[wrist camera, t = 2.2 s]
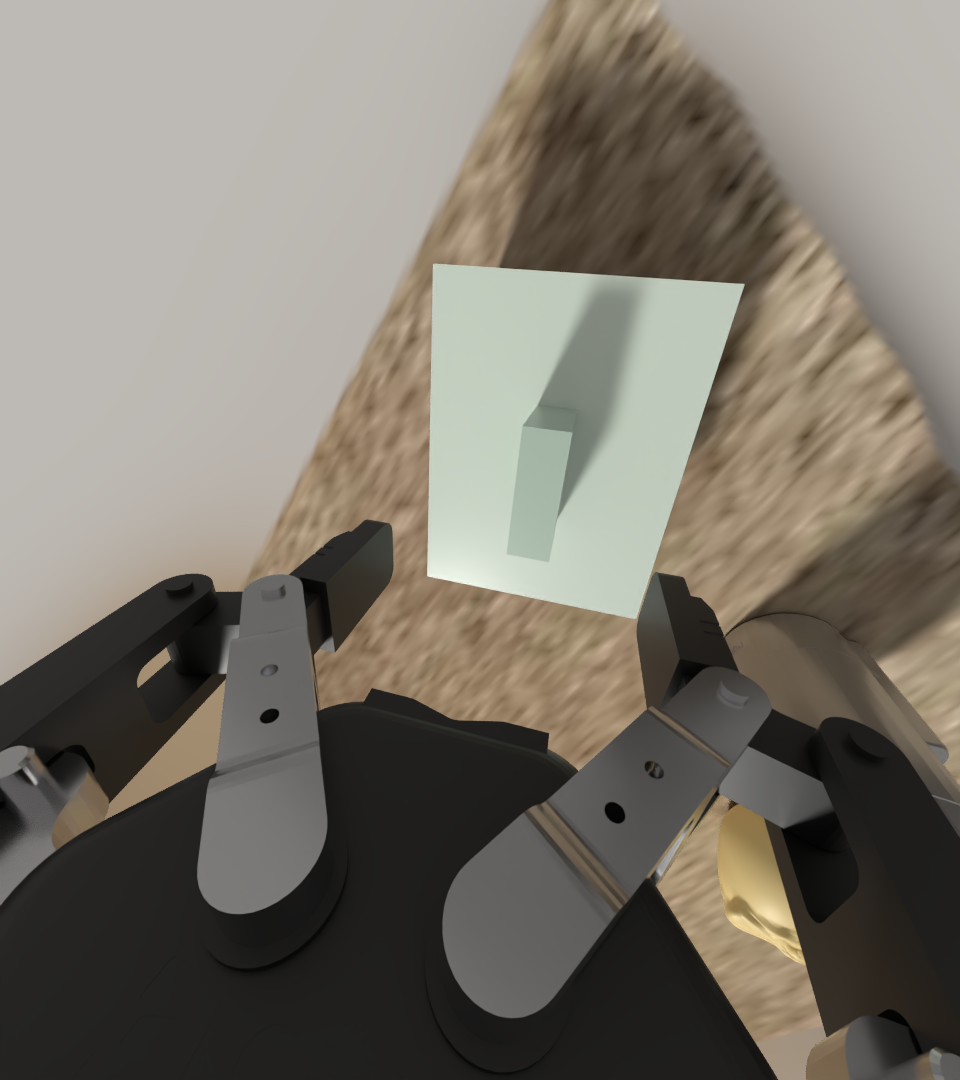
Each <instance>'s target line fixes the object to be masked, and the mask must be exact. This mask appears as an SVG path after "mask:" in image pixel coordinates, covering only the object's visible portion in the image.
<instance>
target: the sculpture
mask: <svg viewBox="0 0 960 1080" xmlns="http://www.w3.org/2000/svg"><path fill="white" fill-rule="evenodd" d="M717 860H718V878H719V881H720V888H721V892H722V895H723V897H724V907H725V914H726V916H727V918H728V919H729V920H730V921H731V922H732V923H733V924H734V925H735V926H736V927H737V928H739V929H741V930H743V931H745V932H747V933H749V934H752V935H755V936H757V937H759V938H761V939H763V940H765V941H768V942H770V943H772V944H773V945H775V946H776V947H778V948H779V949H780V950H781V951H782V952H783V953H784V954H785V955H786V956H787V957H789V958H792V959H793V960H794V961H795V962H799V963H801V964H802V965H805V966H806V963H805V960H804V957H803V953H802V950H801V946H800V943H799V939H798V936H797V932H796V929H795V925H794V922H793V918H792V915H791V911H790V908H789V904H788V901H787V897H786V894H785V890H784V887H783V883H782V880H781V876H780V873H779V869H778V866H777V862H776V859H775V855H774V852H773V848H772V845H771V841H770V838H769V834H768V831H767V827H766V824H765V820H764V818H763V817H761V816H760V815H758V814H756V813H754V812H752V811H750V810H749V809H747V808H745V807H743V806H741V805H739V804H737V805H736V806H734V807H733V808H731V809H730V810H729V811H728V812H727V813H726V815H725V816H724V818H723V821H722V824H721V827H720V832H719V841H718V857H717Z"/></svg>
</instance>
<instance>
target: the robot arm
mask: <svg viewBox="0 0 960 1080" xmlns="http://www.w3.org/2000/svg"><path fill="white" fill-rule="evenodd" d="M392 573H393V538H392V527H391V525H390V524H389V523H384V522H378V521H373V520H365V521H363V522H362V523H361V524H360V525H359V526H358V527H357V528H355V529H354V530H353V531H352V532H349V531H348V532H345V533H343V534H341V535H338V536H336V537H334V538H332V539H331V540H330V541H329V542H328V543H326V544H325V545H324V547H323V548H320V549H319V550H318V551H317V552H316V553H315V554H313V555H312V556H311V557H310V558H308V559H307V560H306V561H305V562H304V563H302V564H301V565H300V566H299V567H298V568H296V569H295V570H294V571H293V572H292V573H290V574H289V575H284V574H280V575H271V576H266V577H263V578H260V579H258V580H256V581H254V582H252V583H250V584H249V585H248V586H247V587H246V588H245V589H244V591H243V592H215V588H214V585H213V581H212V579H211V578H209V577H208V576H206V575H202V574H185V575H179V576H175V577H172V578H169V579H166V580H164V581H161V582H159V583H158V584H156V585H154V586H153V587H151V588H150V589H148V590H147V591H145V592H144V593H142V594H141V595H139V596H138V597H136V598H134V599H133V600H131V601H130V602H128V603H127V604H125V605H124V606H122V607H121V608H119V609H118V610H116V611H115V612H113V613H111V614H110V615H108V616H107V617H105V618H104V619H102V620H101V621H99V622H98V623H96V624H95V625H93V626H91V627H90V628H88V629H87V630H85V631H84V632H82V633H81V634H79V635H78V636H76V637H75V638H73V639H72V640H70V641H68V642H67V643H65V644H64V645H63V646H61V647H59V648H58V649H56V650H55V651H53V652H52V653H50V654H49V655H47V656H45V657H44V658H43V659H41V660H39V661H38V662H36V663H35V664H33V665H32V666H30V667H29V668H27V669H26V670H24V671H23V672H21V673H19V674H18V675H16V676H15V677H13V678H12V679H11V680H9V681H7V682H6V683H4V684H3V685H1V686H0V1080H778V1079H777V1077H776V1075H775V1074H774V1072H773V1070H772V1069H771V1067H770V1066H769V1064H768V1062H767V1061H766V1059H765V1057H764V1056H763V1054H762V1053H761V1051H760V1050H759V1048H758V1047H757V1045H756V1043H755V1042H754V1040H753V1039H752V1037H751V1035H750V1034H749V1032H748V1031H747V1029H746V1027H745V1026H744V1024H743V1023H742V1021H741V1020H740V1018H739V1016H738V1015H737V1013H736V1012H735V1010H734V1009H733V1007H732V1005H731V1004H730V1002H729V1001H728V999H727V998H726V996H725V994H724V993H723V991H722V990H721V988H720V986H719V985H718V983H717V982H716V980H715V979H714V977H713V975H712V974H711V972H710V971H709V969H708V968H707V966H706V964H705V963H704V961H703V960H702V958H701V956H700V955H699V953H698V952H697V950H696V949H695V947H694V945H693V944H692V942H691V941H690V939H689V938H688V936H687V934H686V933H685V931H684V930H683V928H682V927H681V925H680V923H679V922H678V920H677V919H676V917H675V915H674V914H673V912H672V911H671V909H670V908H669V906H668V904H667V903H666V901H665V900H664V898H663V897H662V895H661V893H660V892H659V890H658V889H657V886H658V885H659V883H660V882H661V880H662V879H663V877H664V876H665V874H666V873H667V871H668V870H669V868H670V867H671V865H672V864H673V862H674V860H675V859H676V857H677V856H678V854H679V853H680V851H681V850H682V849H683V847H684V846H685V844H686V843H687V841H688V840H689V839H690V837H691V836H692V834H693V833H694V832H695V830H696V829H697V827H698V826H699V825H700V823H701V822H702V820H703V819H704V817H705V816H706V815H707V813H708V812H709V810H710V809H711V808H712V806H713V805H714V803H715V802H716V801H717V799H718V798H719V796H720V795H723V796H725V797H727V798H728V799H730V800H732V801H734V802H736V803H738V804H739V805H741V806H743V807H745V808H747V809H749V810H750V811H752V812H754V813H756V814H758V815H760V816H761V817H763V818H764V820H765V824H766V827H767V831H768V834H769V838H770V841H771V845H772V848H773V852H774V855H775V859H776V862H777V866H778V869H779V873H780V876H781V880H782V883H783V887H784V890H785V894H786V897H787V901H788V904H789V908H790V911H791V915H792V918H793V922H794V925H795V929H796V932H797V936H798V939H799V943H800V946H801V950H802V953H803V957H804V960H805V963H806V967H807V970H808V974H809V977H810V981H811V984H812V988H813V991H814V995H815V998H816V1002H817V1005H818V1009H819V1012H820V1016H821V1019H822V1023H823V1026H824V1030H825V1033H826V1037H827V1038H826V1039H824V1040H822V1041H821V1042H819V1043H818V1044H816V1045H815V1046H814V1047H813V1048H812V1050H811V1051H810V1054H809V1056H808V1060H807V1065H806V1080H960V785H959V784H958V783H957V781H956V780H955V779H954V778H953V776H952V775H951V774H950V773H949V771H948V770H947V769H946V767H945V766H944V765H943V764H944V763H945V762H946V761H947V759H948V757H949V753H948V750H947V748H946V747H945V745H944V744H943V743H942V742H941V741H940V739H939V738H938V737H937V736H936V735H935V733H934V732H933V731H932V730H931V728H930V727H929V726H928V725H927V724H926V722H925V721H924V720H923V719H922V718H921V716H920V715H919V714H918V713H917V712H916V710H915V709H914V708H913V707H912V706H911V704H910V703H909V702H908V701H907V699H906V698H905V697H904V696H903V695H902V693H901V692H900V691H899V690H898V689H897V687H896V686H895V685H894V684H893V683H892V681H891V680H890V679H889V678H888V677H887V675H886V674H885V673H884V672H883V671H882V669H881V668H880V667H879V666H878V664H877V663H876V662H875V661H874V660H873V658H872V657H871V656H870V655H869V654H868V652H867V651H866V650H865V649H864V648H863V646H862V645H861V644H860V643H858V642H853V641H849V640H846V639H845V638H844V637H843V636H842V635H841V634H840V633H839V632H838V631H837V630H836V629H835V628H834V627H832V626H830V625H829V624H827V623H826V622H824V621H821V620H819V619H816V618H814V617H810V616H805V615H800V614H786V613H782V614H773V615H767V616H763V617H759V618H755V619H753V620H750V621H748V622H746V623H743V624H742V625H740V626H738V627H737V628H735V629H734V630H732V631H731V632H730V633H729V634H728V635H727V636H726V637H725V638H724V637H723V636H724V634H723V632H722V630H721V627H719V623H718V620H717V618H716V615H715V613H714V611H713V610H712V609H711V608H710V607H709V606H708V605H707V604H706V603H705V602H704V601H703V600H702V599H701V598H698V597H693V596H690V593H689V590H688V587H687V584H686V582H685V579H684V578H683V577H680V576H674V575H669V574H663V573H657V572H655V573H654V574H653V576H652V578H651V581H650V584H649V587H648V590H647V593H646V596H645V599H644V602H643V605H642V608H641V612H640V615H639V618H638V624H637V641H638V648H639V655H640V662H641V669H642V677H643V684H644V691H645V698H646V705H647V710H645V711H644V712H643V713H642V714H641V715H640V716H639V717H638V718H637V719H635V720H634V721H633V722H632V723H631V724H630V725H629V726H628V727H627V728H626V729H625V730H623V731H622V732H621V733H620V734H619V735H618V736H617V737H616V738H615V739H614V740H613V741H611V742H610V743H609V744H608V745H607V746H606V747H605V748H604V749H603V750H602V751H600V752H599V753H598V754H597V755H596V756H595V757H594V758H593V759H592V760H591V761H590V762H588V763H587V764H586V765H585V766H584V767H583V768H582V769H581V770H580V771H578V770H577V769H576V768H575V767H574V766H572V765H571V764H570V763H569V762H568V761H566V760H565V759H564V758H562V757H561V756H559V755H558V754H556V753H554V752H552V751H551V750H549V749H547V748H548V739H549V733H545V732H542V731H538V730H534V729H530V728H526V727H522V726H518V725H514V724H510V723H506V722H496V721H459V720H453V719H450V718H448V717H446V716H444V715H443V714H441V713H439V712H437V711H435V710H433V709H431V708H429V707H428V706H426V705H424V704H422V703H420V702H418V701H416V700H414V699H412V698H408V697H404V696H400V695H396V694H392V693H389V692H385V691H381V690H377V689H373V688H372V689H371V691H370V692H369V694H368V696H367V697H366V699H365V701H364V702H350V703H344V704H338V705H334V706H331V707H328V708H325V709H322V710H321V707H320V699H319V691H318V684H317V676H316V668H315V660H314V654H315V653H316V652H317V651H318V650H319V649H322V650H326V651H330V652H334V653H335V652H336V651H337V649H338V648H339V647H340V645H341V644H342V643H343V642H344V640H345V639H346V638H347V636H348V635H349V634H350V633H351V631H352V630H353V629H354V627H355V626H356V625H357V624H358V622H359V621H360V620H361V618H362V617H363V616H364V615H365V613H366V612H367V611H368V609H369V608H370V607H371V606H372V604H373V603H374V602H375V600H376V599H377V598H378V597H379V595H380V594H381V593H382V591H383V590H384V589H385V588H386V586H387V585H388V584H389V582H390V579H391V577H392ZM165 648H167V650H168V653H169V655H170V658H171V660H170V661H169V662H168V663H167V664H166V665H164V666H163V667H162V668H161V669H160V670H159V671H157V672H156V673H155V674H154V675H153V676H152V677H151V678H149V679H148V680H147V681H146V682H145V683H144V684H143V685H141V686H140V687H139V688H138V687H137V678H138V675H139V673H140V671H141V669H142V668H143V667H144V666H145V665H146V664H147V663H148V662H149V661H150V660H151V659H152V658H154V657H155V656H156V655H157V654H159V653H160V652H161V651H162V650H163V649H165ZM225 679H226V683H225V693H224V701H223V710H222V719H221V728H220V738H219V746H218V755H217V763H215V764H213V765H211V766H209V767H208V768H205V769H204V770H202V771H200V772H198V773H196V774H194V775H192V776H190V777H188V778H186V779H184V780H182V781H180V782H178V783H176V784H174V785H172V786H170V787H168V788H166V789H165V790H163V791H161V792H159V793H157V794H155V795H153V796H151V797H149V798H147V799H145V800H143V801H141V802H139V803H137V804H136V805H133V806H131V807H129V808H128V809H126V810H124V811H122V812H120V813H118V814H116V815H114V816H112V817H110V818H108V819H106V820H104V819H105V816H106V814H107V811H108V807H109V803H110V802H111V801H112V800H113V799H114V798H115V797H116V796H117V795H118V793H119V792H120V791H121V790H122V789H123V788H124V787H125V786H126V785H127V784H128V783H129V782H130V781H131V779H133V777H134V776H135V775H136V774H137V773H138V772H139V771H140V770H141V769H142V768H143V767H144V765H146V764H147V762H148V761H149V760H150V759H151V758H152V757H153V756H154V755H155V754H156V753H157V752H158V750H160V749H161V748H162V746H163V745H164V744H165V743H166V742H167V741H168V740H169V739H170V738H171V737H172V736H173V735H174V734H175V733H176V732H177V730H178V729H179V728H180V727H181V726H182V725H183V724H184V723H185V722H186V721H187V720H188V718H189V717H191V716H192V714H193V713H194V712H195V711H196V710H197V709H198V708H199V707H200V706H201V705H202V704H203V703H204V702H205V701H206V699H207V698H208V697H209V696H210V695H211V694H212V693H213V692H214V691H215V690H216V689H217V688H218V687H219V685H220V684H222V682H223V681H224V680H225ZM103 820H104V821H103Z"/></svg>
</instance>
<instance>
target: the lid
mask: <svg viewBox="0 0 960 1080" xmlns="http://www.w3.org/2000/svg"><path fill="white" fill-rule="evenodd" d="M744 285H745V284H735V283H720V282H705V281H690V280H675V279H659V278H644V277H629V276H614V275H598V274H583V273H568V272H553V271H538V270H522V269H507V268H492V267H477V266H462V265H446V264H433V300H432V354H431V408H430V461H429V515H428V569H427V576H429V577H434V578H439V579H444V580H449V581H453V582H458V583H463V584H468V585H473V586H478V587H482V588H487V589H492V590H497V591H502V592H507V593H511V594H516V595H521V596H526V597H531V598H536V599H541V600H545V601H550V602H555V603H560V604H565V605H570V606H574V607H579V608H584V609H589V610H594V611H599V612H603V613H608V614H613V615H618V616H623V617H628V618H633V619H636V617H637V614H638V611H639V608H640V605H641V602H642V599H643V596H644V593H645V590H646V587H647V584H648V580H649V577H650V574H651V571H652V568H653V565H654V562H655V559H656V556H657V553H658V550H659V547H660V544H661V540H662V537H663V534H664V531H665V528H666V525H667V522H668V519H669V516H670V513H671V510H672V507H673V503H674V500H675V497H676V494H677V491H678V488H679V485H680V482H681V479H682V476H683V473H684V470H685V467H686V463H687V460H688V457H689V454H690V451H691V448H692V445H693V442H694V439H695V436H696V433H697V430H698V427H699V423H700V420H701V417H702V414H703V411H704V408H705V405H706V402H707V399H708V396H709V393H710V390H711V386H712V383H713V380H714V377H715V374H716V371H717V368H718V365H719V362H720V359H721V356H722V353H723V350H724V346H725V343H726V340H727V337H728V334H729V331H730V328H731V325H732V322H733V319H734V316H735V313H736V310H737V306H738V303H739V300H740V297H741V294H742V291H743V288H744Z"/></svg>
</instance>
